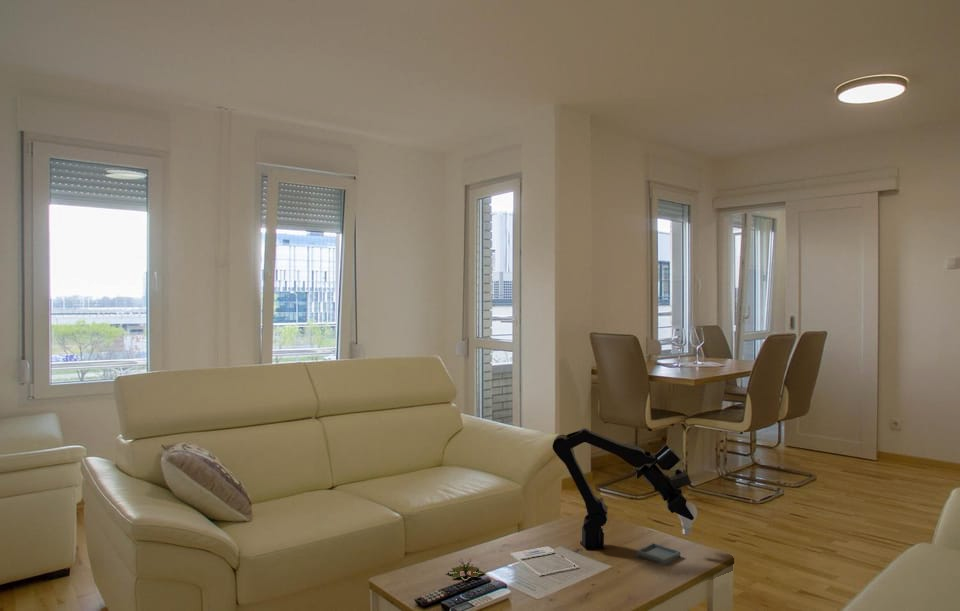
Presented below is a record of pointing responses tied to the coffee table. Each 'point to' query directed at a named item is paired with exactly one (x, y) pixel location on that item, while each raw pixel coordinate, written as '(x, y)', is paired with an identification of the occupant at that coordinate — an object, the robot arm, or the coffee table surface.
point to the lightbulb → (687, 522)
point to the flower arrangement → (466, 570)
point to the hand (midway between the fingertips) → (691, 515)
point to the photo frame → (534, 553)
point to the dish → (658, 553)
